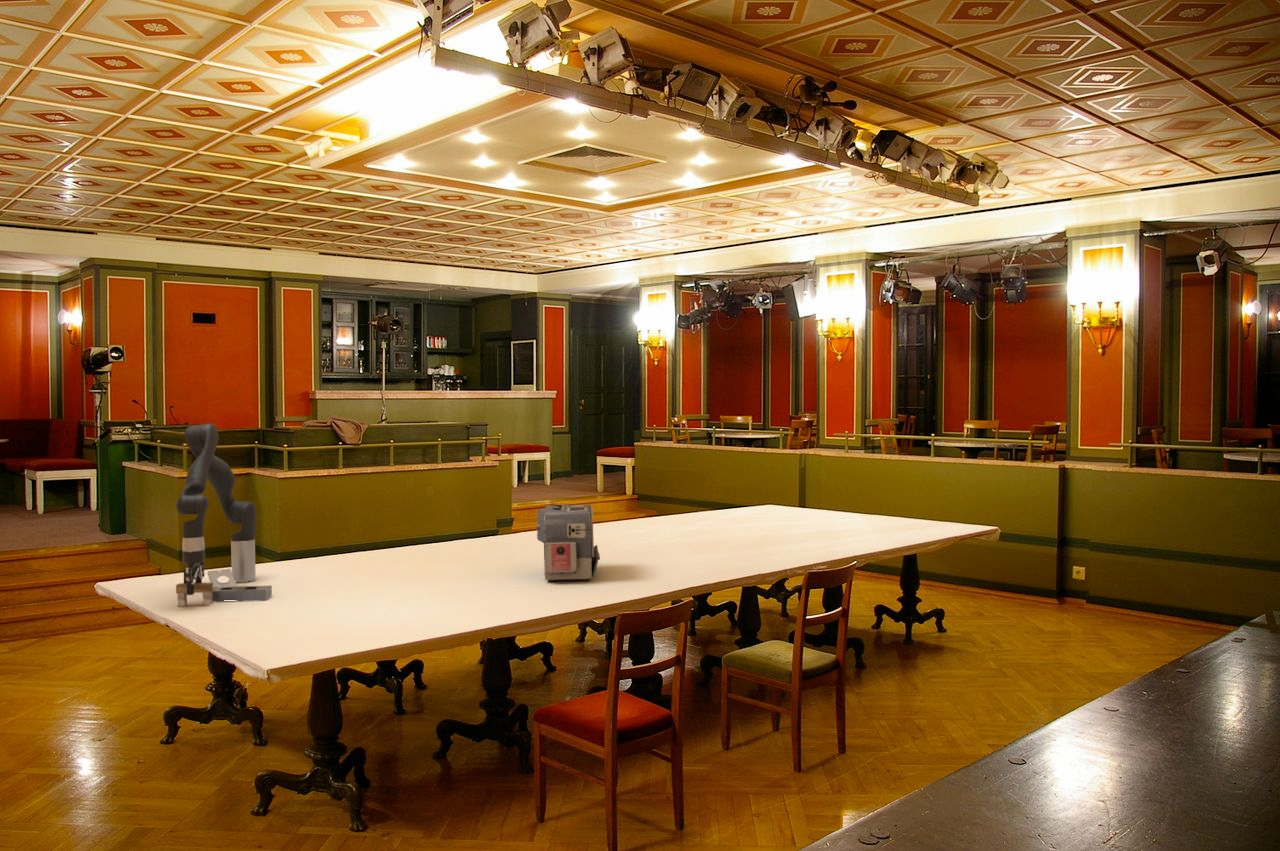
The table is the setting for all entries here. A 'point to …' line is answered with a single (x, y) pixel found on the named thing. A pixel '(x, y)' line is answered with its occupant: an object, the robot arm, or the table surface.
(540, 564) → the table surface
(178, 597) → the brown u-shaped block
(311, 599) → the table surface
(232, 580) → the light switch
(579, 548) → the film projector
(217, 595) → the grey slotted holder
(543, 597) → the table surface
